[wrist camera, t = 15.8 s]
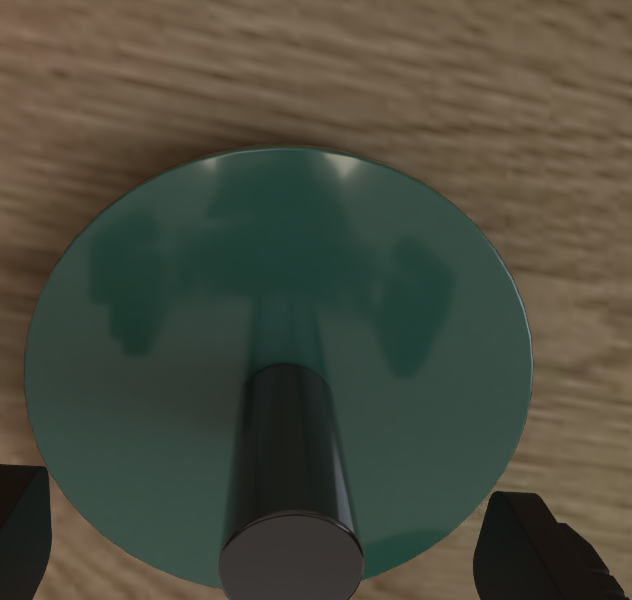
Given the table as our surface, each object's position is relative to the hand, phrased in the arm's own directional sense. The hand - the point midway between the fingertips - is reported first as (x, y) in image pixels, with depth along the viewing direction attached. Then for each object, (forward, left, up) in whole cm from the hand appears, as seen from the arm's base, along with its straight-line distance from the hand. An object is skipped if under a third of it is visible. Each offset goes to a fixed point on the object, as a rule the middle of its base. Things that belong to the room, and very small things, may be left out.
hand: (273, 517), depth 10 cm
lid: (0, 0, -4) cm, 4 cm away
